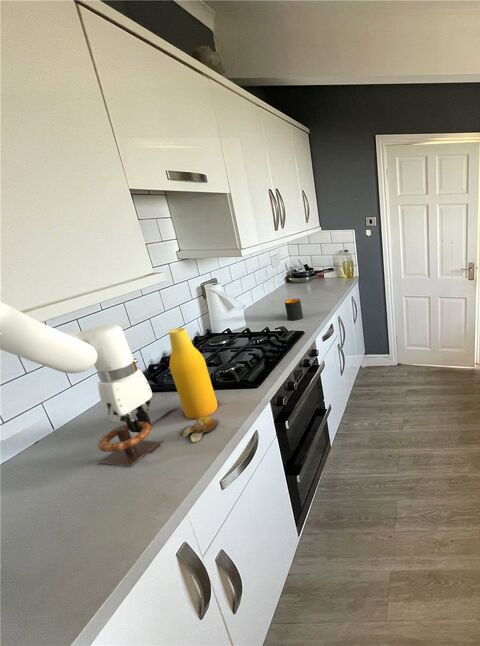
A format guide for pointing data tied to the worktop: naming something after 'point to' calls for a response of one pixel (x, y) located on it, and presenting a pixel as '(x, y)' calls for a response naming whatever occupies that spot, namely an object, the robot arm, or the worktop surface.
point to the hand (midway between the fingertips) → (141, 427)
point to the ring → (108, 447)
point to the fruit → (200, 428)
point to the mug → (293, 309)
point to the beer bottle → (191, 376)
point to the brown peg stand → (130, 450)
